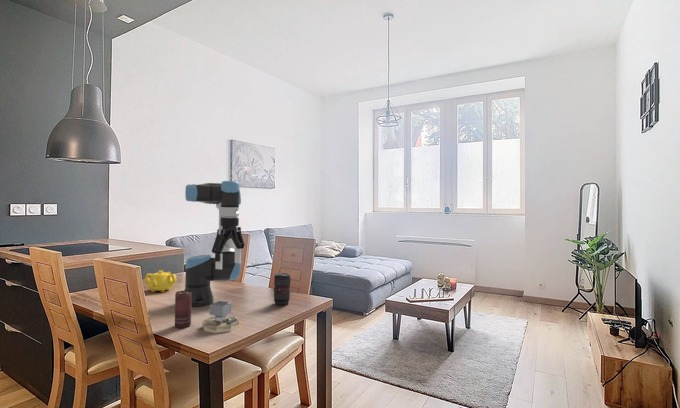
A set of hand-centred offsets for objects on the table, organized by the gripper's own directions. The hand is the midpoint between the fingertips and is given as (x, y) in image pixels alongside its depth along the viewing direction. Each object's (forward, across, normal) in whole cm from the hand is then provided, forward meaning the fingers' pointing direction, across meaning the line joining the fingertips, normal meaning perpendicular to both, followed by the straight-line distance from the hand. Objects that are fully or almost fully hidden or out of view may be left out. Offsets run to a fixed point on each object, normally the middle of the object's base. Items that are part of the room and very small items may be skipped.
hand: (228, 266), depth 156 cm
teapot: (+25, +27, +63) cm, 73 cm away
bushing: (+22, -9, -3) cm, 24 cm away
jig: (+23, -9, -3) cm, 25 cm away
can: (+23, -14, +12) cm, 30 cm away
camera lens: (+24, +29, -11) cm, 39 cm away
